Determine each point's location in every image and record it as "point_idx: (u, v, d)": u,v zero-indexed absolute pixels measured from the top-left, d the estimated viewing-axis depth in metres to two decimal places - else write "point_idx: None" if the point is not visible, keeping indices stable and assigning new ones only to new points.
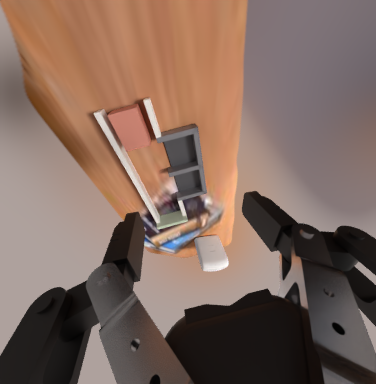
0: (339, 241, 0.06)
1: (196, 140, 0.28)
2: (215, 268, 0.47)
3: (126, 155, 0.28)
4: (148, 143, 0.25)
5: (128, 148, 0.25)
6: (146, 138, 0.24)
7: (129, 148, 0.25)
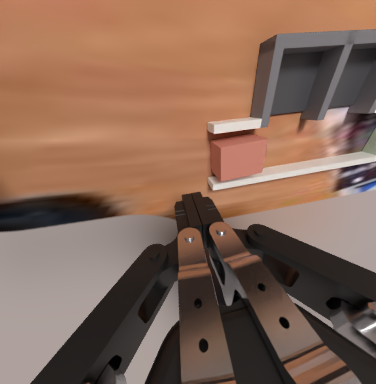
0: (254, 244, 0.07)
1: (297, 43, 0.14)
2: None
3: None
4: (265, 141, 0.17)
5: (260, 168, 0.19)
6: (258, 142, 0.17)
7: (260, 167, 0.19)
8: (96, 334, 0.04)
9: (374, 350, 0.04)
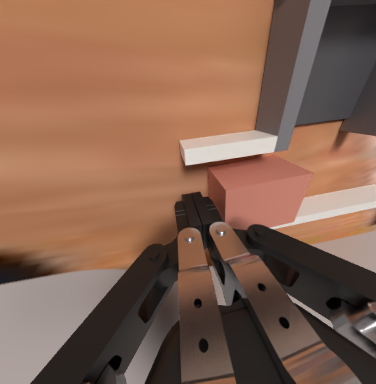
0: (254, 244, 0.07)
1: None
2: None
3: None
4: (307, 176, 0.09)
5: (292, 217, 0.11)
6: (294, 179, 0.09)
7: (292, 216, 0.11)
8: (96, 334, 0.04)
9: (374, 350, 0.04)
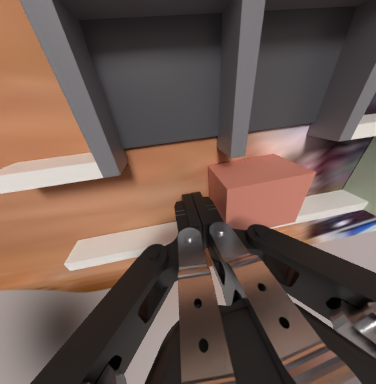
0: (254, 244, 0.07)
1: None
2: None
3: (162, 231, 0.14)
4: (309, 176, 0.09)
5: (293, 217, 0.11)
6: (296, 179, 0.09)
7: (293, 215, 0.11)
8: (96, 334, 0.04)
9: (374, 350, 0.04)
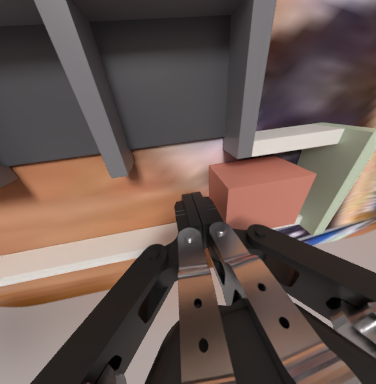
0: (254, 244, 0.07)
1: None
2: None
3: (81, 247, 0.13)
4: (310, 178, 0.09)
5: (293, 218, 0.11)
6: (297, 180, 0.09)
7: (293, 217, 0.11)
8: (96, 334, 0.04)
9: (374, 349, 0.04)
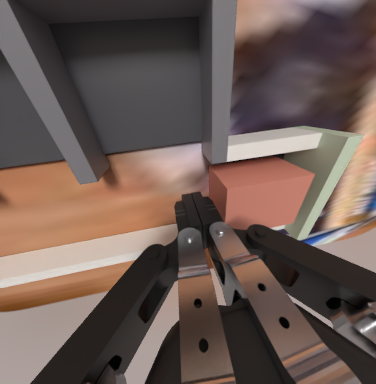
0: (254, 244, 0.07)
1: None
2: None
3: (60, 253, 0.13)
4: (308, 178, 0.09)
5: (291, 218, 0.11)
6: (295, 180, 0.09)
7: (291, 217, 0.11)
8: (96, 334, 0.04)
9: (374, 349, 0.04)
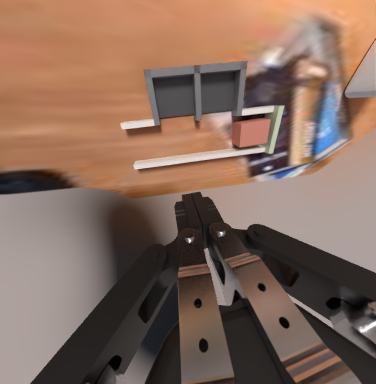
0: (254, 244, 0.07)
1: (160, 74, 0.22)
2: None
3: (172, 157, 0.31)
4: (268, 121, 0.27)
5: (265, 140, 0.29)
6: (264, 121, 0.27)
7: (265, 139, 0.29)
8: (96, 334, 0.04)
9: (374, 349, 0.04)
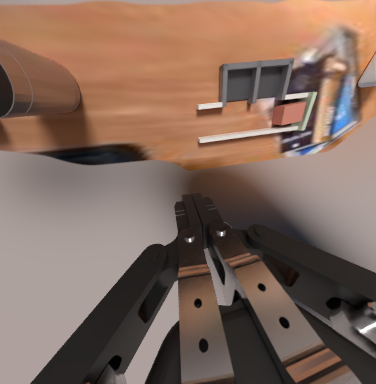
0: (254, 244, 0.07)
1: (233, 67, 0.31)
2: None
3: (226, 134, 0.40)
4: (304, 103, 0.36)
5: (300, 118, 0.38)
6: (301, 104, 0.36)
7: (300, 118, 0.38)
8: (96, 334, 0.04)
9: (374, 349, 0.04)
